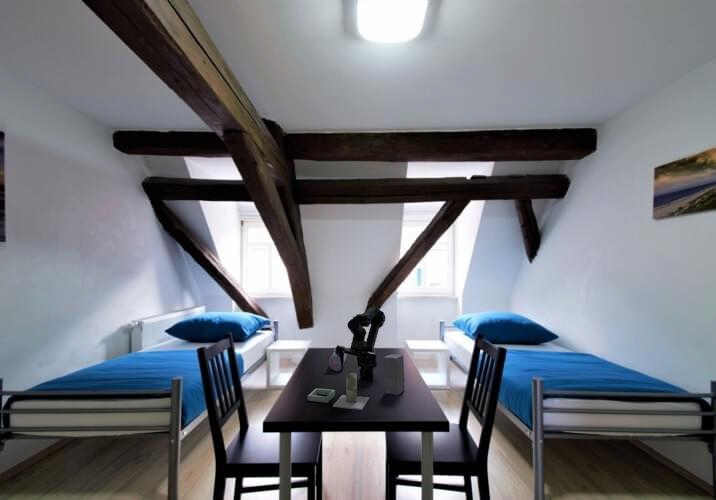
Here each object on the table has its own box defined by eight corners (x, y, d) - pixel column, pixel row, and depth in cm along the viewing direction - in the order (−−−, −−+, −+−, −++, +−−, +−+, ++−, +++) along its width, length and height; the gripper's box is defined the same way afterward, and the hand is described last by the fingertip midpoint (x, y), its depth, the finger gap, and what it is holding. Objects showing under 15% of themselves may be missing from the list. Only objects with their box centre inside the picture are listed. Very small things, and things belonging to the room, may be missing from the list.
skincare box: (397, 396, 145) (397, 358, 146) (382, 393, 149) (382, 356, 150) (405, 390, 152) (405, 354, 153) (391, 387, 156) (391, 352, 157)
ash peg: (356, 398, 141) (355, 372, 142) (358, 402, 137) (357, 375, 137) (345, 399, 140) (345, 372, 141) (347, 403, 136) (346, 375, 137)
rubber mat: (369, 398, 142) (369, 397, 142) (361, 410, 131) (361, 408, 131) (342, 395, 146) (342, 394, 146) (332, 406, 134) (332, 405, 134)
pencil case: (333, 361, 201) (332, 345, 202) (347, 361, 201) (347, 345, 201) (328, 372, 180) (328, 354, 181) (344, 372, 180) (344, 354, 181)
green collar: (335, 394, 147) (335, 390, 147) (327, 402, 138) (327, 397, 139) (316, 392, 150) (316, 388, 150) (307, 400, 141) (307, 395, 141)
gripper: (339, 328, 152) (331, 362, 143) (380, 337, 151) (374, 371, 142) (339, 337, 161) (331, 370, 152) (377, 345, 160) (371, 379, 151)
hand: (351, 372), depth 149 cm, fingers open, 9 cm apart
